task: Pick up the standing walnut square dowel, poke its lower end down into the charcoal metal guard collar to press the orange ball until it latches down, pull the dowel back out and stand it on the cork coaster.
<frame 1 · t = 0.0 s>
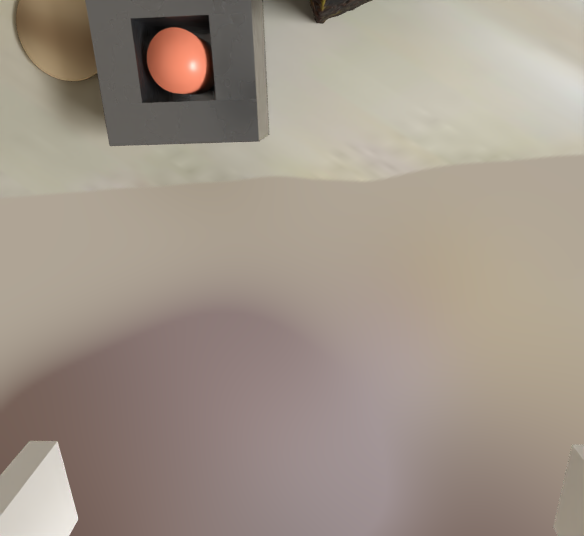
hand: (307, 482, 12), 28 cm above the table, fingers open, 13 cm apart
coaster: (66, 31, 34), on the table
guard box: (201, 68, 34), on the table
orange ball: (185, 63, 30), point 5 cm above the table, slide at 0.0 cm
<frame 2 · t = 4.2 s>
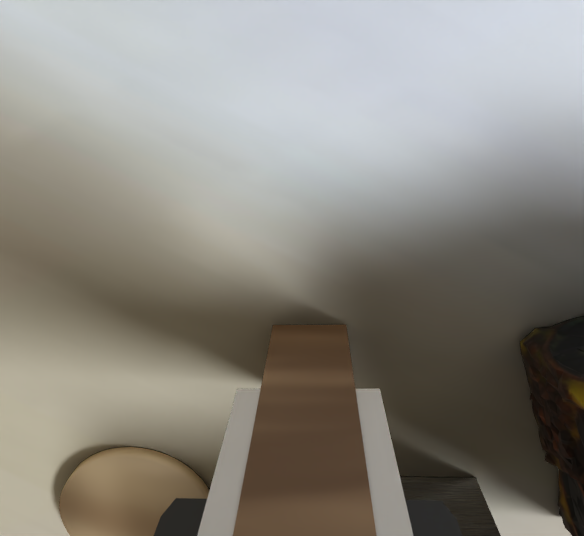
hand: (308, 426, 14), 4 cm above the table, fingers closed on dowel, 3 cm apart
coaster: (141, 507, 21), on the table
dowel: (310, 356, 17), on the table, touching gripper
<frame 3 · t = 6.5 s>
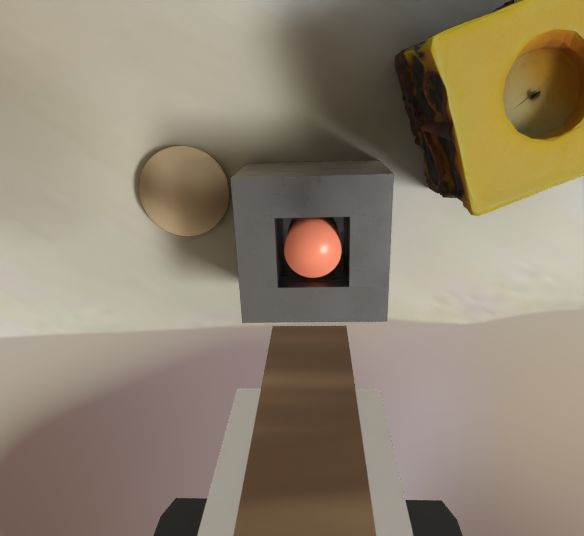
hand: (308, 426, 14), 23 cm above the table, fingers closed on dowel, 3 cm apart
coaster: (185, 191, 35), on the table
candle: (477, 99, 32), on the table
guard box: (313, 225, 36), on the table
orange ball: (312, 242, 31), point 4 cm above the table, slide at 0.0 cm
dowel: (310, 358, 17), point 19 cm above the table, touching gripper
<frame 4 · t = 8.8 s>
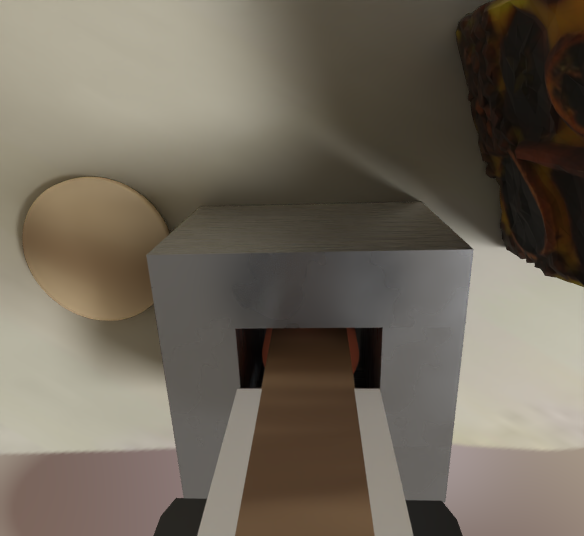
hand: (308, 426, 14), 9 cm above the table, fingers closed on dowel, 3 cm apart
coaster: (102, 249, 21), on the table
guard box: (311, 304, 22), on the table
orange ball: (310, 331, 19), point 3 cm above the table, slide at 1.8 cm, touching dowel
dowel: (310, 358, 17), point 5 cm above the table, touching orange ball, gripper
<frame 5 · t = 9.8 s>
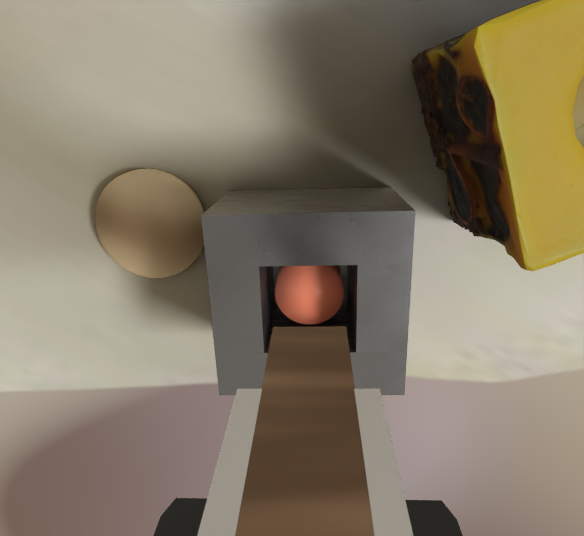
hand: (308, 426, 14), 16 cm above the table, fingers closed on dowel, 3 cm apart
coaster: (153, 223, 29), on the table
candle: (514, 113, 26), on the table
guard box: (309, 265, 29), on the table
orange ball: (309, 280, 26), point 3 cm above the table, slide at 1.8 cm
dowel: (310, 358, 18), point 12 cm above the table, touching gripper
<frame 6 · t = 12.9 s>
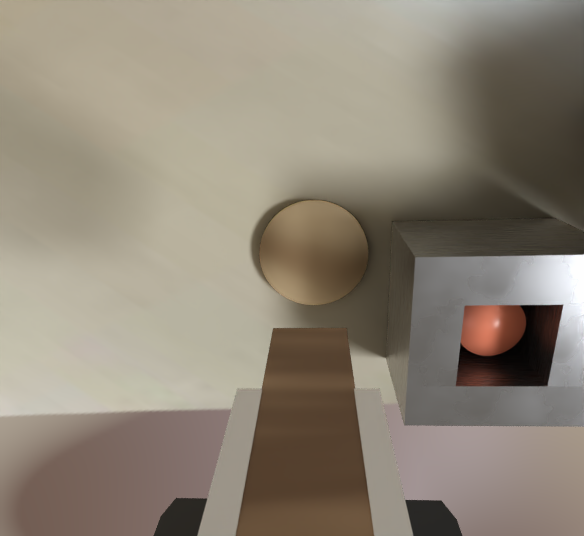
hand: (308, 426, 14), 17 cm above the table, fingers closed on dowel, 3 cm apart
coaster: (313, 252, 29), on the table
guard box: (464, 293, 30), on the table
orange ball: (479, 311, 27), point 3 cm above the table, slide at 1.8 cm
dowel: (310, 359, 17), point 13 cm above the table, touching gripper
when the fingers open (5 cm above the table, at t = 15.5 s): dowel stays where it is, resting on coaster.
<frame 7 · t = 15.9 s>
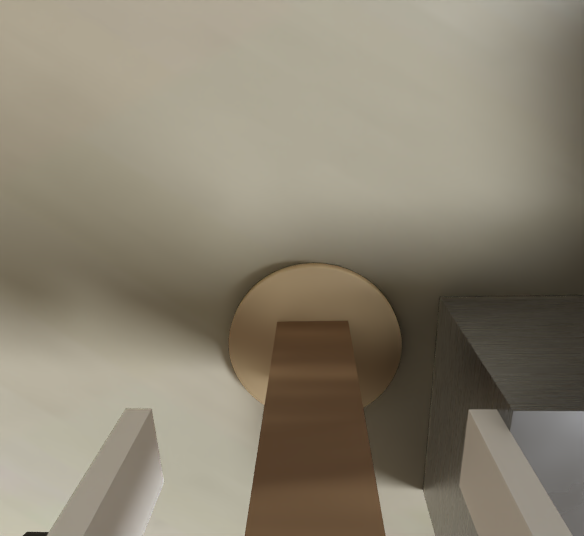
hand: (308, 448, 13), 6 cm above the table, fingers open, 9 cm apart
coaster: (314, 341, 19), on the table
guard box: (549, 402, 19), on the table
dowel: (313, 352, 18), point 1 cm above the table, touching coaster
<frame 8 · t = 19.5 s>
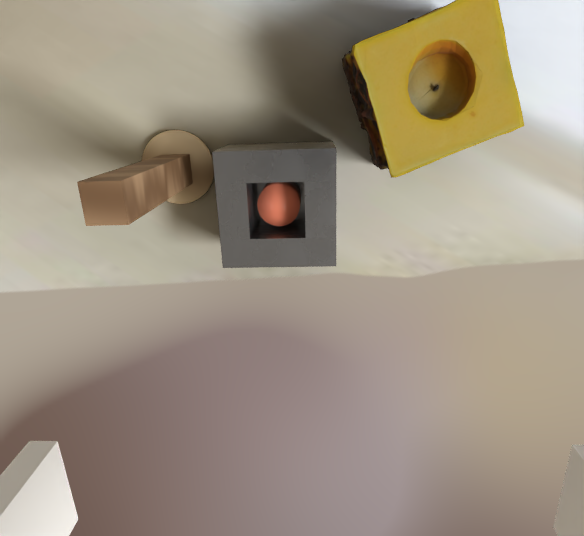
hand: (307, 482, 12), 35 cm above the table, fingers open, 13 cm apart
coaster: (179, 167, 44), on the table
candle: (409, 93, 41), on the table
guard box: (282, 195, 44), on the table
orange ball: (280, 200, 41), point 3 cm above the table, slide at 1.8 cm
dowel: (177, 169, 43), point 1 cm above the table, touching coaster
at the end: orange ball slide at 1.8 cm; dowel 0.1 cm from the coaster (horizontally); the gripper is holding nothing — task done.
